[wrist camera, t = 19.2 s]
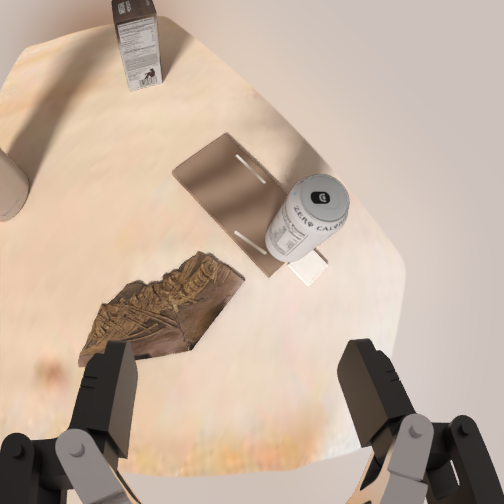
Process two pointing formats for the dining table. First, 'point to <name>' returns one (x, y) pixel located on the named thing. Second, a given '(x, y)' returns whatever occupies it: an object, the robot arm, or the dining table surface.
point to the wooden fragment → (165, 311)
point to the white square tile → (309, 267)
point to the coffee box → (138, 42)
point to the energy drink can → (307, 217)
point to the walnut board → (235, 196)
